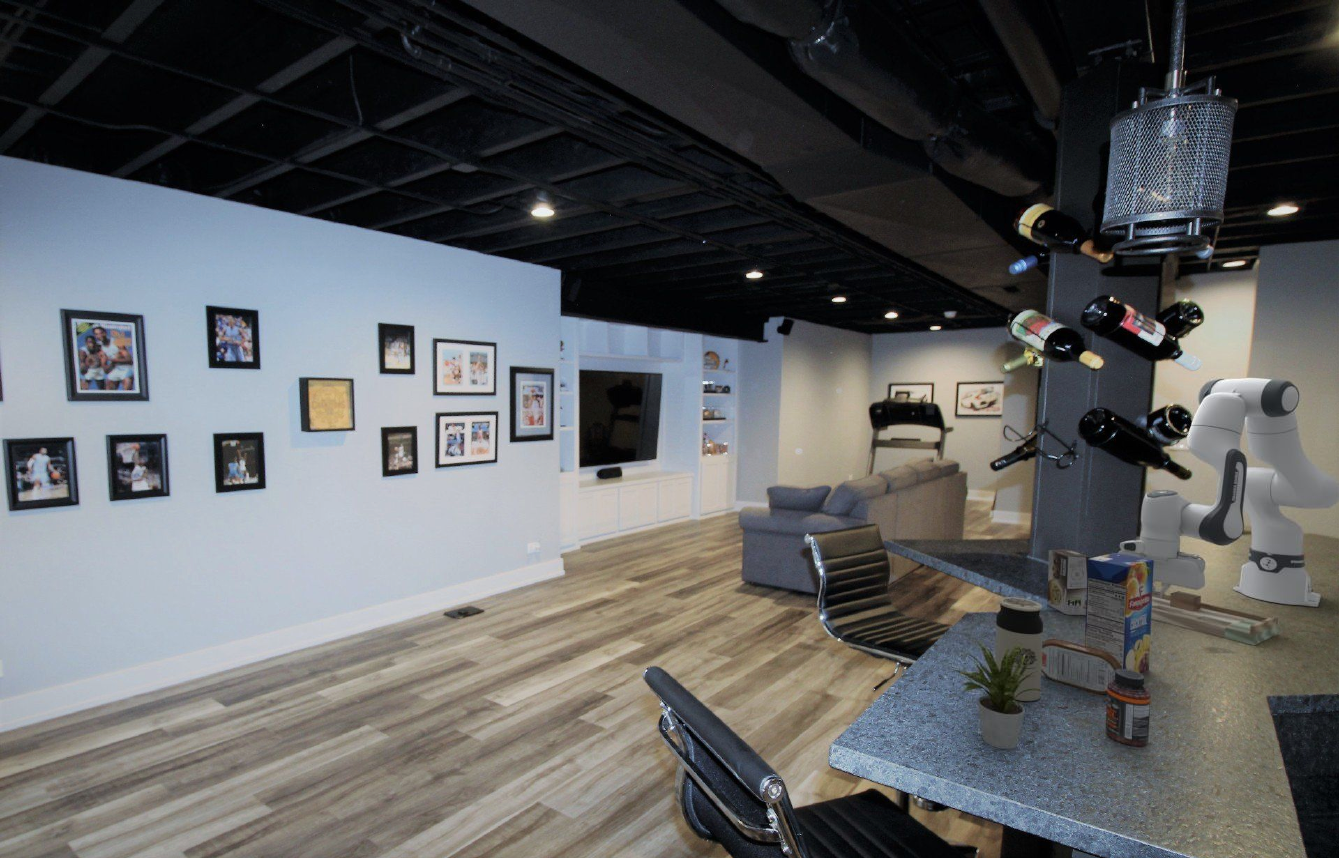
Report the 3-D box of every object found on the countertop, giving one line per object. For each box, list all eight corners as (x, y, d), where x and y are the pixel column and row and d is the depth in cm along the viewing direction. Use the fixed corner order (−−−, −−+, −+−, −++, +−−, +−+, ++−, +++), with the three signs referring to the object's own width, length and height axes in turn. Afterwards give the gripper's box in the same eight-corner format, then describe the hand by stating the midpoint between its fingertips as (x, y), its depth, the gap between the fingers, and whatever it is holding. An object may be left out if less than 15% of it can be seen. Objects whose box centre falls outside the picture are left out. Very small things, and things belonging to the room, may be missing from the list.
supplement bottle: (1097, 727, 110) (1100, 664, 109) (1133, 730, 109) (1136, 666, 109) (1118, 746, 104) (1121, 679, 103) (1157, 748, 103) (1160, 681, 103)
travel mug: (994, 680, 128) (996, 594, 127) (1038, 689, 124) (1042, 600, 124) (993, 696, 121) (997, 605, 120) (1041, 706, 117) (1045, 611, 117)
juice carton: (1110, 657, 141) (1114, 552, 140) (1149, 670, 134) (1154, 559, 133) (1083, 669, 134) (1087, 558, 133) (1122, 682, 128) (1127, 566, 127)
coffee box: (1089, 615, 170) (1092, 556, 169) (1065, 614, 170) (1067, 556, 169) (1068, 604, 179) (1071, 549, 178) (1046, 604, 179) (1048, 548, 178)
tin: (1123, 696, 122) (1125, 653, 122) (1120, 701, 120) (1121, 658, 119) (1037, 672, 133) (1038, 633, 132) (1032, 676, 131) (1034, 636, 130)
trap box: (1143, 602, 182) (1144, 586, 182) (1277, 634, 157) (1278, 616, 157) (1117, 609, 174) (1118, 594, 174) (1253, 645, 149) (1254, 626, 149)
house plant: (969, 708, 116) (972, 621, 116) (1054, 736, 107) (1058, 642, 106) (940, 736, 106) (943, 642, 105) (1032, 770, 96) (1036, 666, 96)
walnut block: (1178, 603, 173) (1178, 590, 173) (1200, 608, 169) (1201, 595, 169) (1169, 606, 171) (1170, 593, 171) (1192, 611, 166) (1192, 598, 166)
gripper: (1210, 554, 167) (1208, 605, 168) (1124, 540, 185) (1122, 586, 186) (1200, 557, 164) (1198, 609, 165) (1113, 542, 182) (1111, 589, 182)
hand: (1157, 596), depth 175 cm, fingers closed
